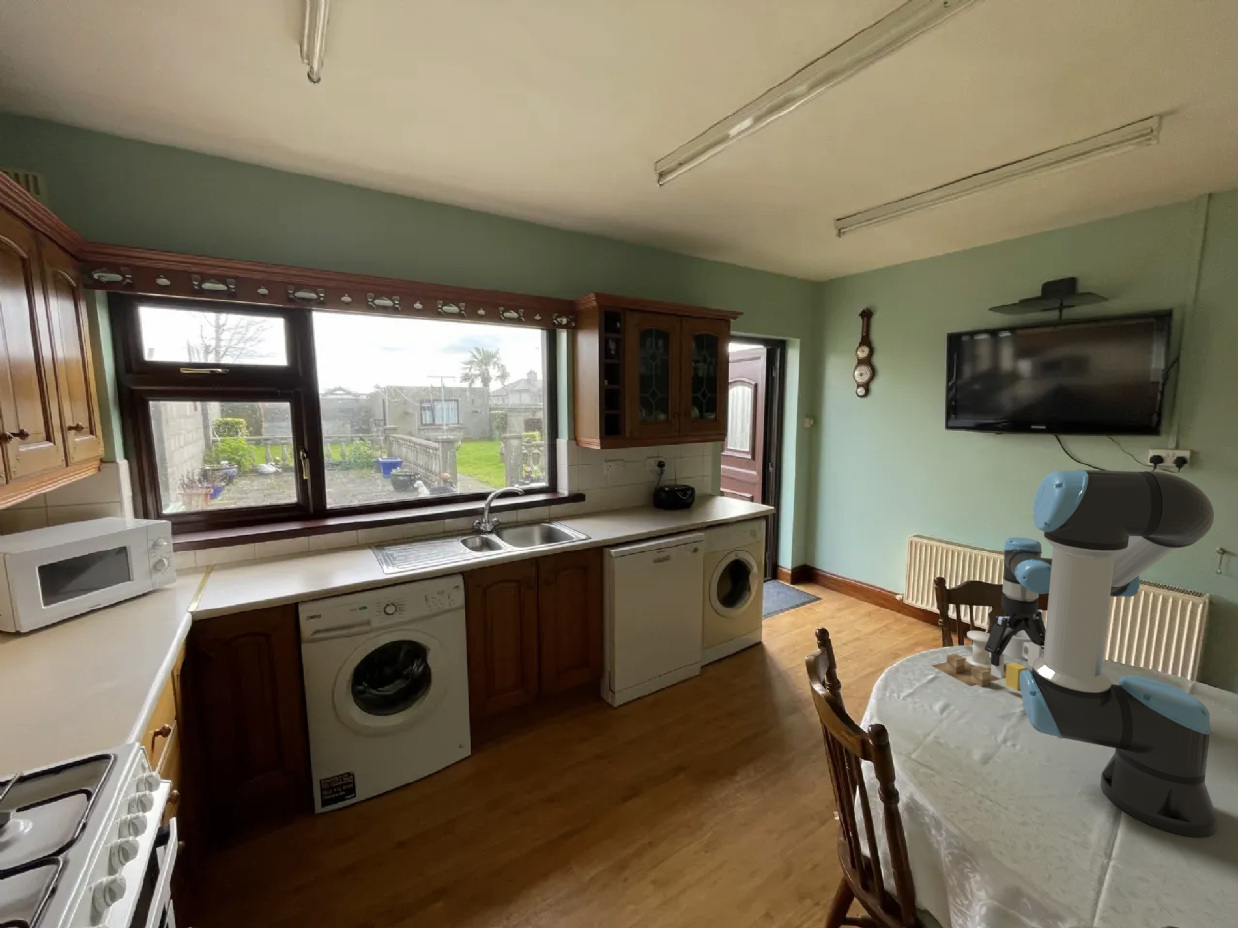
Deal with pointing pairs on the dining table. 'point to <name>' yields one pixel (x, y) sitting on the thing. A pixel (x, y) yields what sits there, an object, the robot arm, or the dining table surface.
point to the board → (967, 671)
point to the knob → (979, 650)
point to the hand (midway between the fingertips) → (1015, 671)
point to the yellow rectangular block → (1014, 675)
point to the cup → (1018, 646)
